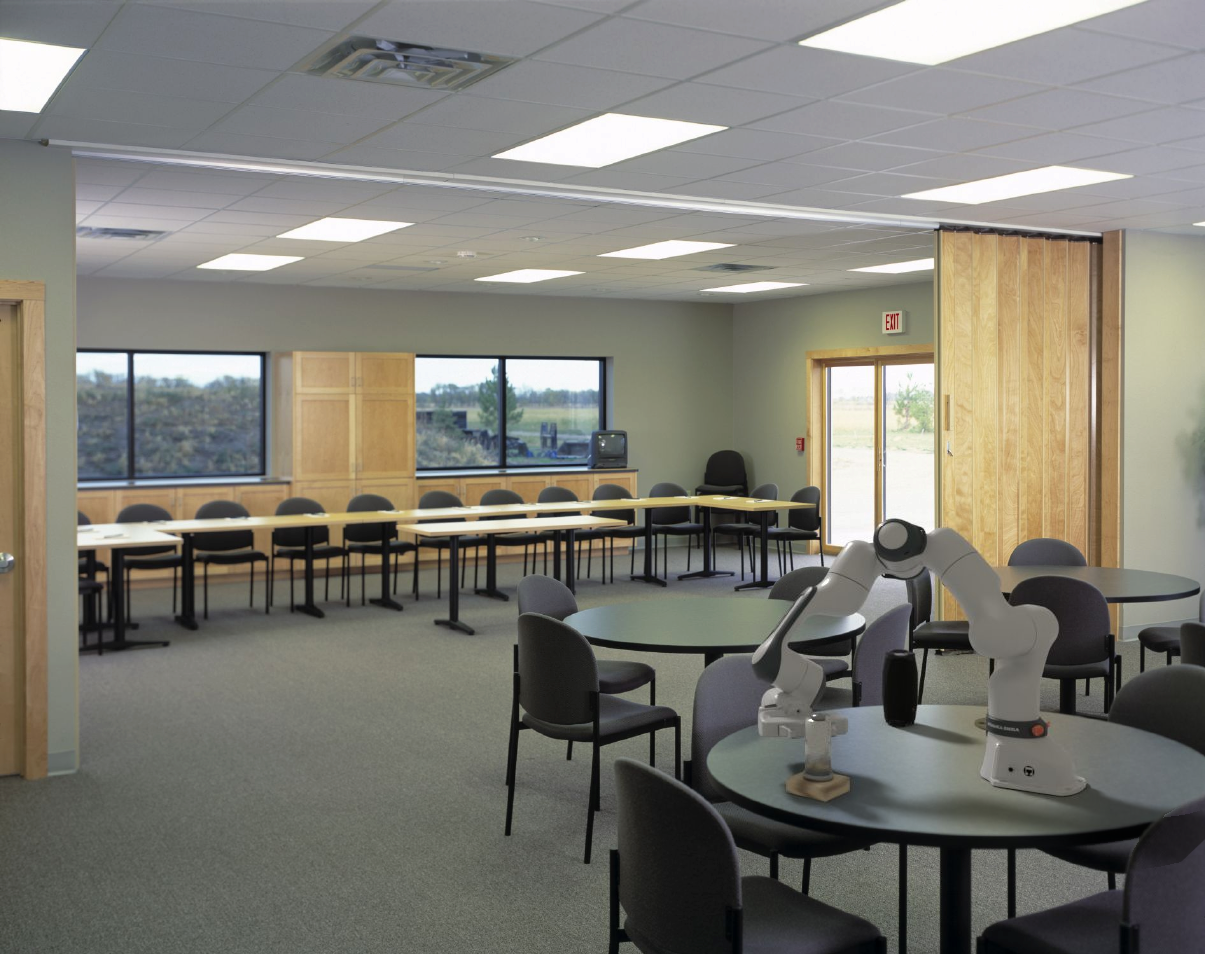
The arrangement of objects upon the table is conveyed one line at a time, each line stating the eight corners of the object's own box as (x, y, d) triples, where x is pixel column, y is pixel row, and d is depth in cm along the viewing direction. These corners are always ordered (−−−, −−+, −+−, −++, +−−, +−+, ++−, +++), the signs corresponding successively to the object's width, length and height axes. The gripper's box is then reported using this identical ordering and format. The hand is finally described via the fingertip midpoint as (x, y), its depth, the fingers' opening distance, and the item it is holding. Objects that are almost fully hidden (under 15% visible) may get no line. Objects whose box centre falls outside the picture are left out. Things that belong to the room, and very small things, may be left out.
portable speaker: (923, 726, 307) (924, 653, 306) (891, 728, 305) (892, 655, 304) (907, 718, 315) (907, 647, 314) (876, 720, 313) (876, 649, 312)
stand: (849, 790, 253) (849, 777, 253) (825, 801, 246) (825, 787, 246) (810, 781, 260) (810, 768, 260) (786, 791, 253) (786, 778, 253)
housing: (836, 775, 255) (836, 712, 254) (829, 783, 249) (829, 719, 248) (806, 771, 257) (806, 709, 257) (799, 780, 251) (799, 716, 251)
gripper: (836, 730, 269) (858, 746, 256) (752, 733, 267) (769, 749, 253) (837, 703, 269) (858, 718, 256) (752, 706, 266) (769, 721, 253)
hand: (813, 734), depth 254 cm, fingers open, 8 cm apart
